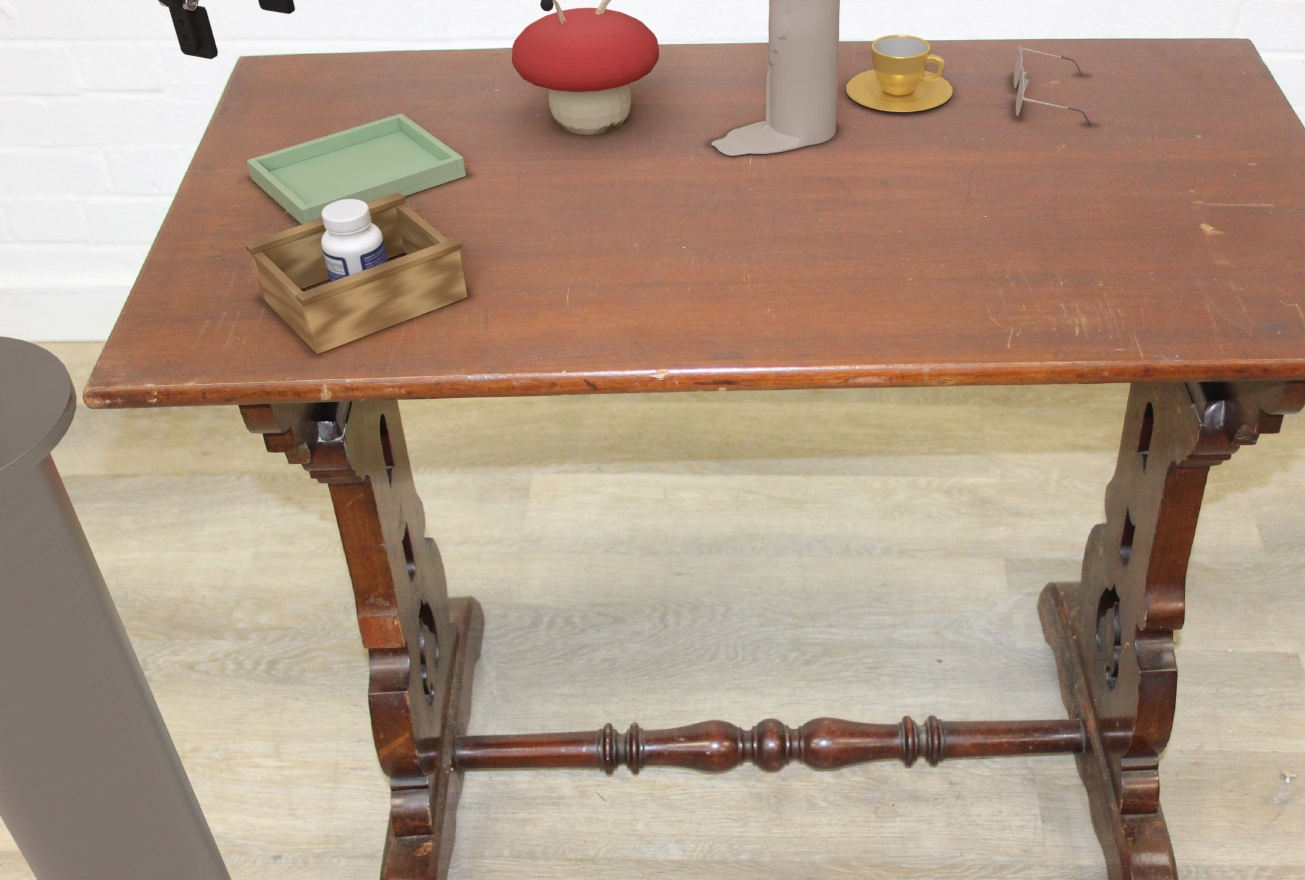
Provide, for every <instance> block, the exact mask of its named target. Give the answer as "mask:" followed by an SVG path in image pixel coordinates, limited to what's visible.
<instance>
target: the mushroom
mask: <svg viewBox="0 0 1305 880" xmlns="http://www.w3.org/2000/svg"><path fill="white" fill-rule="evenodd" d="M611 1H612V0H601V2H600V4H599V6H598V7H576V8H575V7H574V8H569V9H564V10H562V8H561V6H560V4H559V2H558V1H557V0H540V4H539V5H540V8H541V10H542V11H544V12H551V11H552V10H553V9H554V7H555V12H553V13H549V14H547V15H544V16H543V17H540V18H538V19H536V20H535V21H533V22H531V23H529V24H528V25H527V26H525V28H524V29H522V31H521V32H520V33H519V35H517V37H516V38H515V40H514V41H513V44H512V47H511V48H512V50H511V64H512V66H513V68H514V69H515V71H516V72H517V74H518V75H519V76H520V78H522V80H524V81H526V82H528V83H530V84H532V85H533V86H535V87H540V88H543V89H546V90H548V97H547V99H548V105H549V109H550V112H551V117H552V118H553V119H554V121H556V123H557V124H558V125H559V126H560V128H562V129H563V130H564V131H566V132H568V133H572V134H576V135H582V136H583V135H585V136H592V135H593V136H594V135H595V136H596V135H602V134H606V133H610V132H613V131H615V130H617V129H618V128H620V127H622V125H623V124H624V122H625V121H626V120H627V118H628V116H629V114H630V113H631V112H630V111H631V104H632V97H631V86H630V84H632V83H635V82H638V81H640V80H641V79H643V78H644V77H646V76H647V75H649V74H650V73H652V71H653V69H654V68H655V66H656V65H657V63H658V61H659V59H660V47H659V40H658V38H657V36H656V34H655V33H654V32H653V31H652V30H651V29H650V28H649V27H648V26H647V25H646V24H645V23H644V22H643V21H641V20H639V19H638V18H636V17H634V16H631V15H629V14H626V13H625V12H621V11H617V10H613V9H609V8H607V7H608V6H609V4H610V3H611Z"/></svg>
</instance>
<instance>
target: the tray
mask: <svg viewBox="0 0 1305 880" xmlns="http://www.w3.org/2000/svg"><path fill="white" fill-rule="evenodd" d="M246 164H247V168H248V172H249V175H250V179H251V180H252V181H253V182H254V183H255V184H257V186H259V188H261V189H262V190H263V191H264V192H265V193H266V194H267V195H268V196H269V197H270V198H272V199H273V200H274V201H275V202H276V203H277V204H279V206H280V207H281V208H283V209H284V211H286V212H287V213H288V214H289V215H290V216H292V217H293V219H295V220H296V221H297V222H298V223H299V224H300V225H303V224H306V223H309V222H312V221H315V220H318V219H321V218H322V210H323V209H324V208H325V207H326V206H327V205H329V204H331V203H333V202H335V201H339V200H344V199H356V200H361V201H363V202H365V203H369V202H372V201H375V200H378V199H381V198H384V197H387V196H390V195H393V194H396V193H400V194H401V195H402V196H404V197H407V196H410V195H413V194H416V193H419V192H422V191H425V190H429V189H431V188H434V187H438V186H440V185H443V184H446V183H449V182H453V181H455V180H458V179H461V178H464V177H466V176H467V172H466V167H465V162H464V157H463V156H461V155H460V154H459V153H457V152H456V151H455V150H453V149H452V148H451V147H449V146H448V145H447V144H445V142H443V141H441V140H440V139H438V138H436V136H434V135H433V134H431V133H430V132H429V131H427V130H425V129H424V128H423V127H421V125H419V124H417V123H416V122H415V121H413V120H412V119H411V118H409V117H407V115H405V114H404V113H397V114H395V115H394V114H393V115H391V116H388V117H384V118H381V119H378V120H375V121H372V122H367V123H365V124H362V125H358V126H354V127H351V128H348V129H345V130H341V131H337V132H335V133H331V134H328V135H325V136H322V137H318V138H316V139H315V138H314V139H312V140H309V141H305V142H303V143H302V142H301V143H299V144H294V145H292V146H288V147H285V148H282V149H279V150H276V151H272V152H269V153H266V154H262V155H259V156H255V157H253V158H249V159H246Z"/></svg>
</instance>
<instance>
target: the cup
mask: <svg viewBox="0 0 1305 880" xmlns="http://www.w3.org/2000/svg"><path fill="white" fill-rule="evenodd" d="M870 48H871V61H872V67H873V69H870V70H866V71H863V72H860V73H858V74H856V75H855V76H853V77H852V78H851V79H850V80H849V81H848V82H847V83H846V86H845V89H846V90H845V91H846V93H847V95H848V96H849V97H850V98H851V99H852V100H853V101H854V102H856V103H858V104H860V105H862V106H864V107H868V108H871V109H874V110H879V111H885V112H900V113H907V112H908V113H909V112H910V113H911V112H918V111H926V110H929V109H933V108H935V107H938V106H940V105H943V104H944V103H946V102H947V101H948V100H950V98H951V97H952V95H953V92H954V90H953V86H952V84H951V83H950V82H949V81H948V80H947V79H945V78H944V77H943V74H944V71H945V69H946V63H945V59H944V58H943V57H942V56H940V55H937V54H930V51H931V45H930V43H929V42H928V41H927V40H925V39H923V38H922V37H918V36H914V35H910V34H891V35H885V36H881V37H879V38H876V39H875V40H874V41H873V42H872V43H871V47H870ZM928 63H935V64H937V67H938V68H937V71H936V72H931V71H928V70H927V66H928Z"/></svg>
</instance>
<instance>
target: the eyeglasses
mask: <svg viewBox="0 0 1305 880" xmlns="http://www.w3.org/2000/svg"><path fill="white" fill-rule="evenodd" d="M1022 51H1026V52H1032V53H1038V54H1041V55H1045V56H1046V55H1047V56H1052V57H1056V58H1060V59H1064V60H1068V61H1072V63H1074V64H1075V66H1076V69H1077V71H1078V73H1079V75H1080V76H1081V77H1082V76H1084V74H1083V73H1082V71H1081V68H1080V67H1079V65H1078V63H1077V62H1076V60H1075V59H1073V58H1070V57H1066V56H1060V55H1056V54H1051V53H1047V52H1044V51H1039V50H1034V49H1030V48H1026V47H1022V45H1021V44H1019V45H1018V47H1017V57H1016V61H1015V65H1014V66H1015V67H1014V73H1013V86H1014V88H1015V89H1017V88H1018V89H1017V93H1016V94H1017V95H1016V101H1015V115H1016V117H1019V115H1020V112H1021V108H1022V104H1023V101H1024V102H1025V101H1026V102H1031V103H1037V104H1041V105H1047V106H1050V107H1057V108H1061V109H1067V110H1071V111H1076V112H1080V113H1081V114H1083V116H1084V119H1085V120H1086V123H1087V124H1088V126H1092V125H1093V124H1092V123H1091V122H1090V120H1089V118H1088V116H1087V115H1086V114H1085V112H1084V111H1082V110H1081V109H1078V108H1074V107H1068V106H1064V105H1063V106H1062V105H1060V104H1059V105H1058V104H1053V103H1049V102H1045V101H1040V100H1035V99H1031V98H1027V97H1025V91H1026V89H1027V87H1028V85H1029V80H1028V79H1027V75H1028V71H1025V70H1024V68H1023V52H1022Z"/></svg>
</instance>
